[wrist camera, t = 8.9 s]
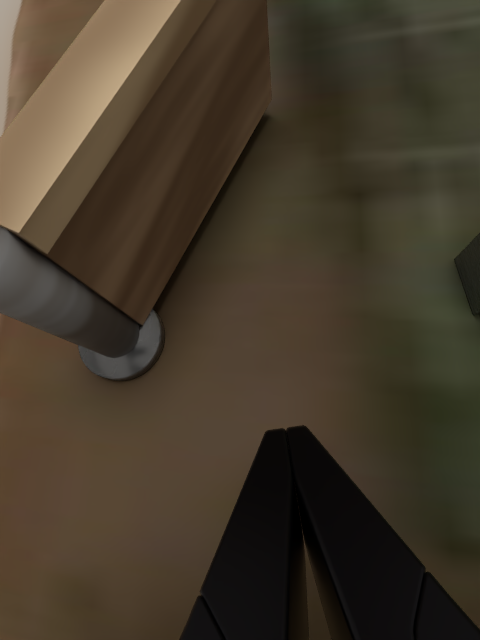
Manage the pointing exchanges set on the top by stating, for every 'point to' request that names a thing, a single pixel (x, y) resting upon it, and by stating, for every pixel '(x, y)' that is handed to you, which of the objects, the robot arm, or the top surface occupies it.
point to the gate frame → (472, 263)
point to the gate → (125, 161)
